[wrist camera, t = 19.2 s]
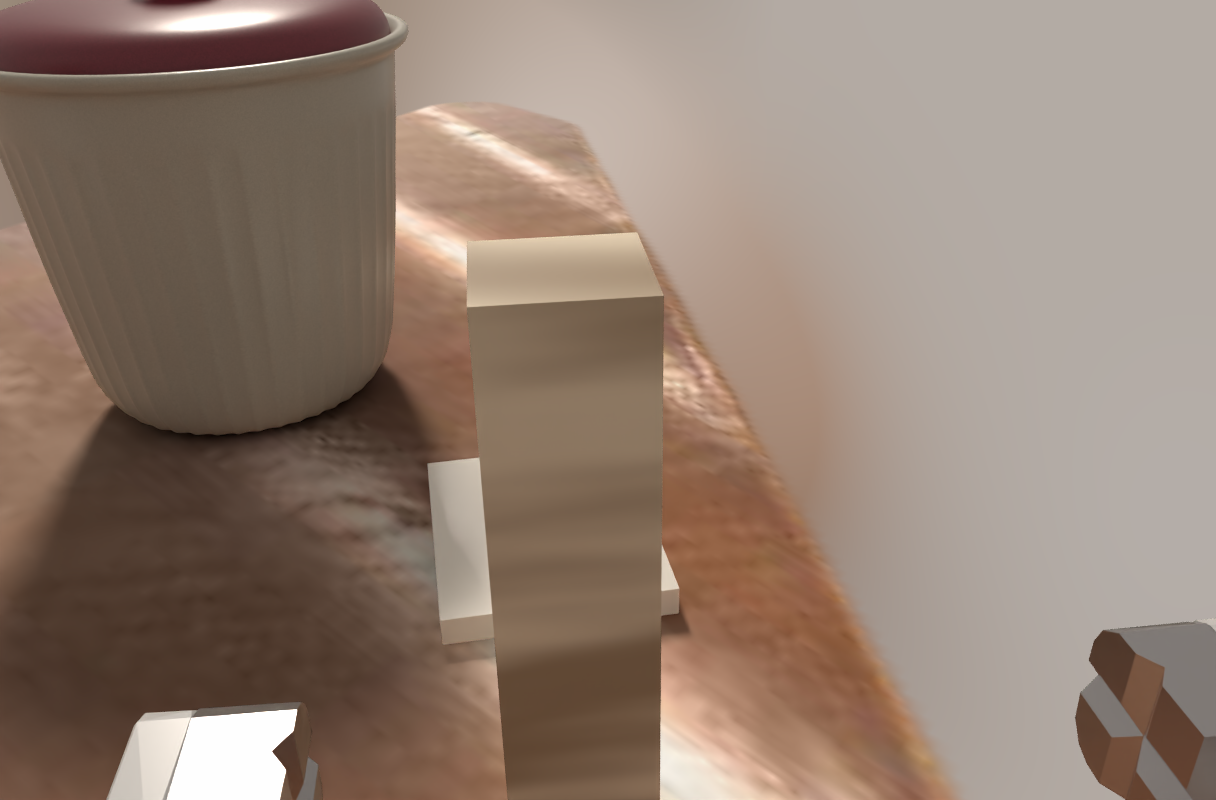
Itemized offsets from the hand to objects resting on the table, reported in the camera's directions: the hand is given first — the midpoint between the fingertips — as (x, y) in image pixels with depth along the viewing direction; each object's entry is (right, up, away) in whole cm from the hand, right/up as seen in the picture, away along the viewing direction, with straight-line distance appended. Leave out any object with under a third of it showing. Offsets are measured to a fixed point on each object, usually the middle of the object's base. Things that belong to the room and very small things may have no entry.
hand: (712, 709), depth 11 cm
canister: (-18, +4, +42) cm, 46 cm away
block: (-2, -8, +18) cm, 20 cm away
